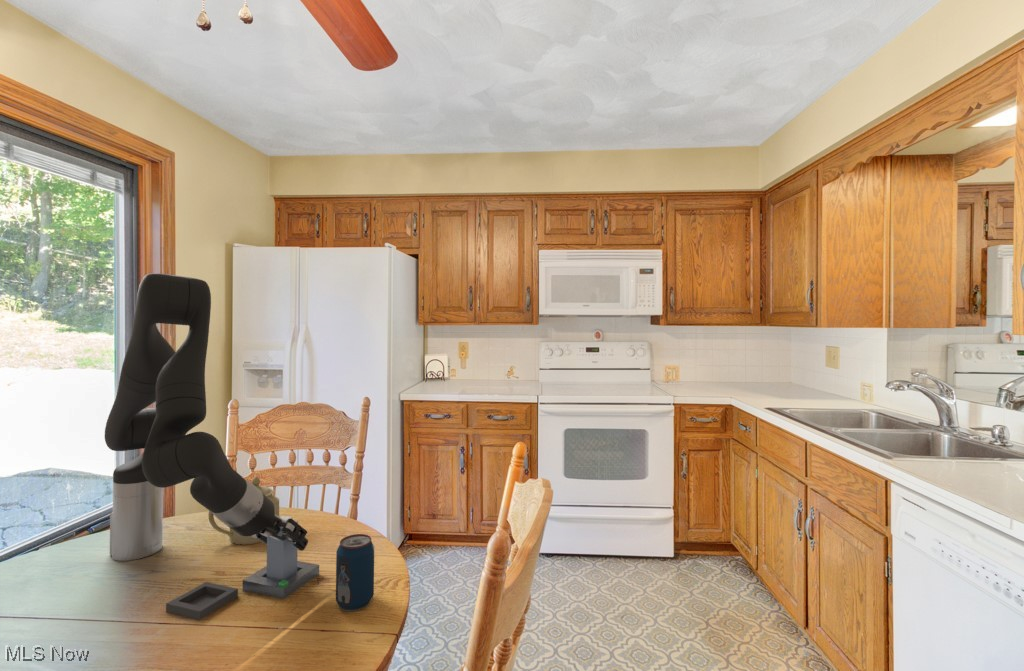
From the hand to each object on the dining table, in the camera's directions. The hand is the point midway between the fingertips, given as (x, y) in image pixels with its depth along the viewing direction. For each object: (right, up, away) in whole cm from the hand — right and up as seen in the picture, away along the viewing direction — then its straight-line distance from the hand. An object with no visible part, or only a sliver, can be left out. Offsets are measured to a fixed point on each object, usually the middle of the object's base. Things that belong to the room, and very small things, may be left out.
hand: (287, 542), depth 98 cm
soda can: (+16, -8, -7) cm, 20 cm away
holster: (-11, -8, -9) cm, 17 cm away
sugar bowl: (-19, -8, +20) cm, 29 cm away
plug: (0, -7, -1) cm, 8 cm away
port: (0, -8, -1) cm, 8 cm away
